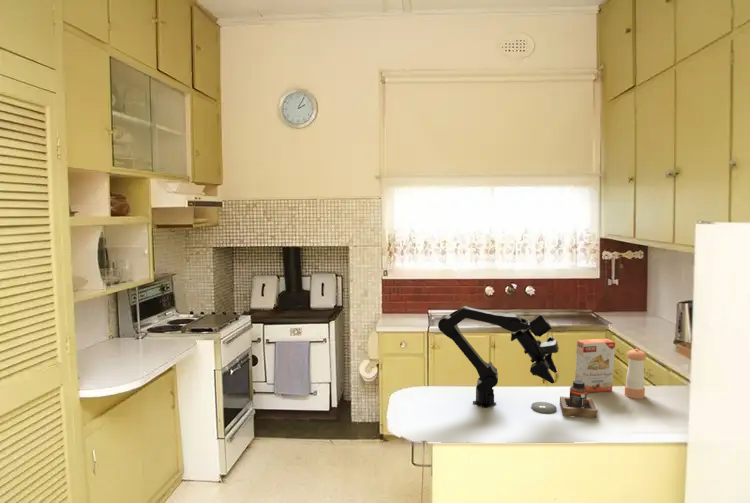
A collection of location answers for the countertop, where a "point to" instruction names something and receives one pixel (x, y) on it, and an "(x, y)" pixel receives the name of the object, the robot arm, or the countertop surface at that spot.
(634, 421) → the countertop surface
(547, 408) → the grey round disc
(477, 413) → the countertop surface
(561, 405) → the walnut holder
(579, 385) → the supplement bottle
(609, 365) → the cracker box
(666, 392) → the countertop surface
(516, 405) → the countertop surface
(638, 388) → the pepper shaker
